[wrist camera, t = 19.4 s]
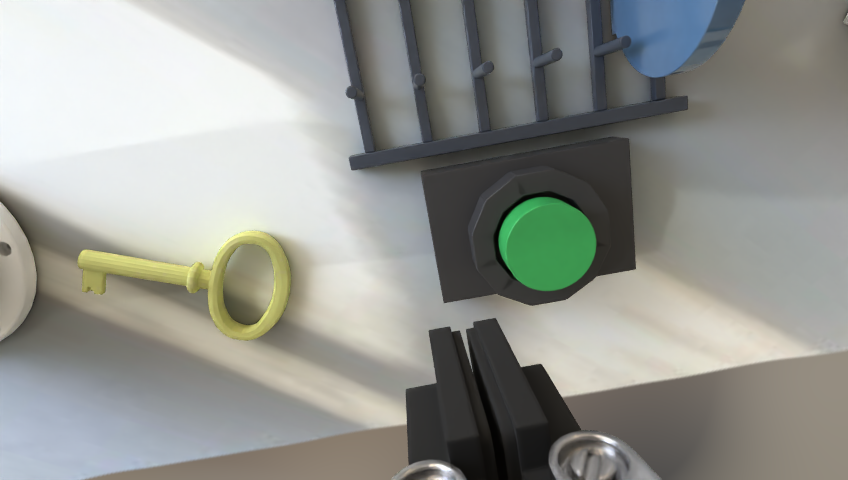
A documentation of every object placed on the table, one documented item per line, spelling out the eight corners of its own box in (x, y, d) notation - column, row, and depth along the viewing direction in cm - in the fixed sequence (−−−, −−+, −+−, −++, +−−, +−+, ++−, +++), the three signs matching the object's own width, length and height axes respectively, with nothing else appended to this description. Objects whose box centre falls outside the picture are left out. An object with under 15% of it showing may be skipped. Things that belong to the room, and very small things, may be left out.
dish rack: (353, 168, 28) (345, 176, 24) (296, -97, 24) (274, -138, 20) (676, 109, 27) (720, 108, 24) (669, -168, 24) (720, -223, 20)
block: (442, 295, 30) (447, 321, 26) (420, 171, 28) (422, 179, 24) (620, 263, 30) (651, 285, 26) (612, 136, 28) (645, 139, 24)
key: (88, 243, 28) (64, 253, 26) (284, 225, 29) (275, 234, 26) (119, 346, 30) (98, 362, 28) (302, 328, 30) (294, 344, 28)
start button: (503, 284, 26) (511, 298, 24) (492, 204, 25) (500, 212, 23) (585, 270, 26) (599, 283, 24) (578, 189, 25) (593, 195, 23)
